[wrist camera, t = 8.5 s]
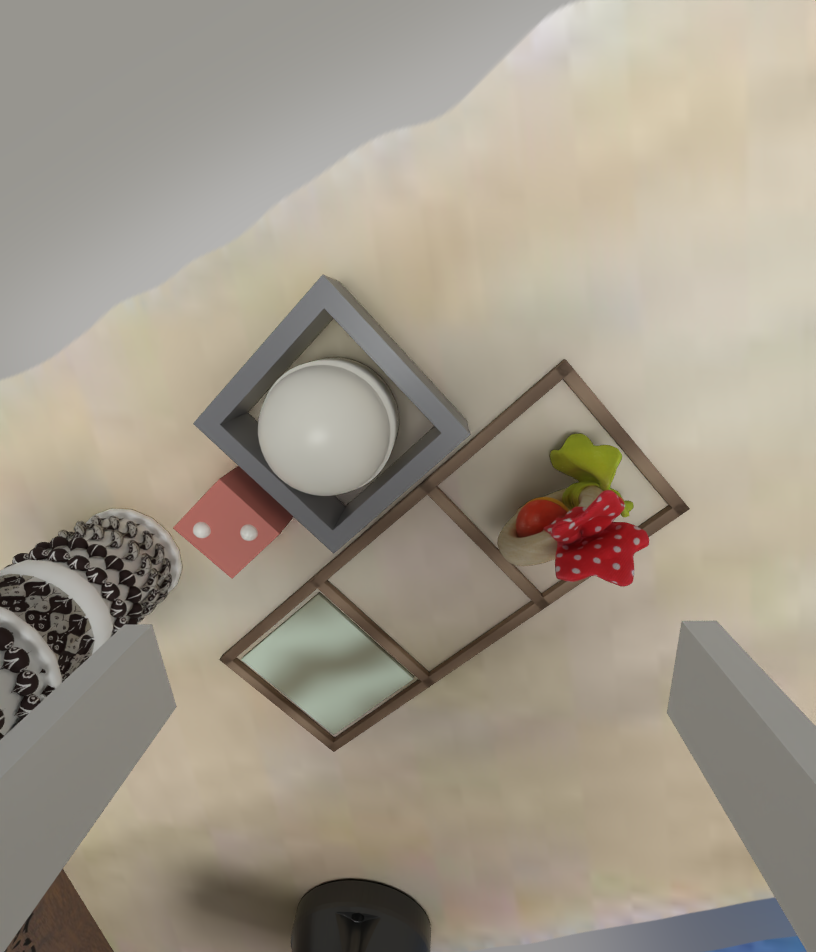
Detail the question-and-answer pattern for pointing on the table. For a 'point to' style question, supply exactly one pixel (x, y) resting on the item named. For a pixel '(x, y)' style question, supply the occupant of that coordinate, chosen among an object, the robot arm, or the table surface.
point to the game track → (359, 657)
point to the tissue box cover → (60, 924)
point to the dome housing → (253, 482)
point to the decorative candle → (77, 601)
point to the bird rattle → (577, 520)
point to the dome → (328, 426)
